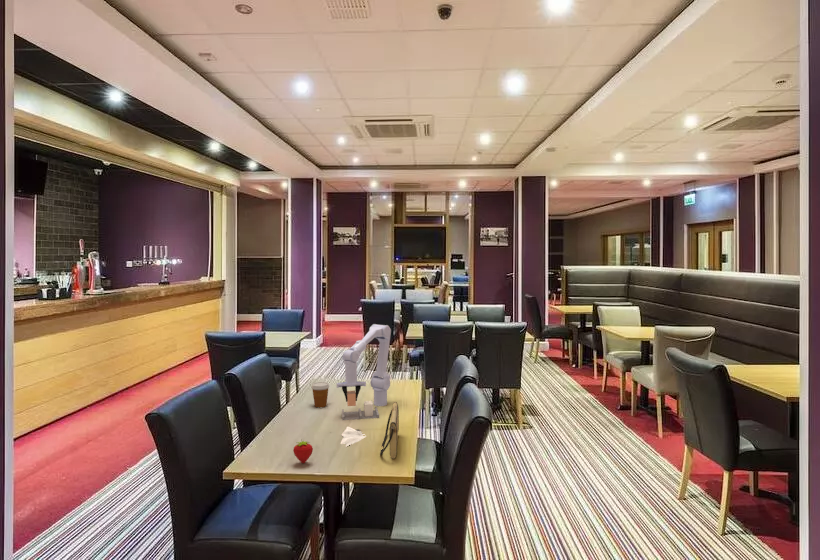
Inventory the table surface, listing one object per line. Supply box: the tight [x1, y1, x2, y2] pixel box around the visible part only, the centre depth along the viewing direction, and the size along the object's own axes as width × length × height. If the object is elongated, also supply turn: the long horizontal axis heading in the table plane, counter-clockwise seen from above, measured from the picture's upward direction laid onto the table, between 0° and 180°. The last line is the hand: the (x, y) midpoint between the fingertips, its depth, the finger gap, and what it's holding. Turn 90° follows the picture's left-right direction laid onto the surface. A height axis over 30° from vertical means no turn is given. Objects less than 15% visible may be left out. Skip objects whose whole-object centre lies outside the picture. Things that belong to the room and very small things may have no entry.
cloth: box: [340, 426, 367, 448], centre depth 207 cm, size 26×14×2 cm, turn 170°
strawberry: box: [293, 438, 314, 464], centre depth 179 cm, size 6×8×10 cm
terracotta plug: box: [347, 390, 357, 407], centre depth 231 cm, size 6×4×6 cm, turn 10°
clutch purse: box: [379, 401, 400, 460], centre depth 194 cm, size 30×7×15 cm, turn 0°
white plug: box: [363, 400, 374, 417], centre depth 233 cm, size 6×4×6 cm, turn 10°
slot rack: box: [341, 406, 380, 421], centre depth 232 cm, size 12×18×2 cm, turn 100°
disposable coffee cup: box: [311, 381, 330, 409], centre depth 250 cm, size 10×10×12 cm
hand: (351, 400), depth 231 cm, fingers closed on terracotta plug, 4 cm apart
